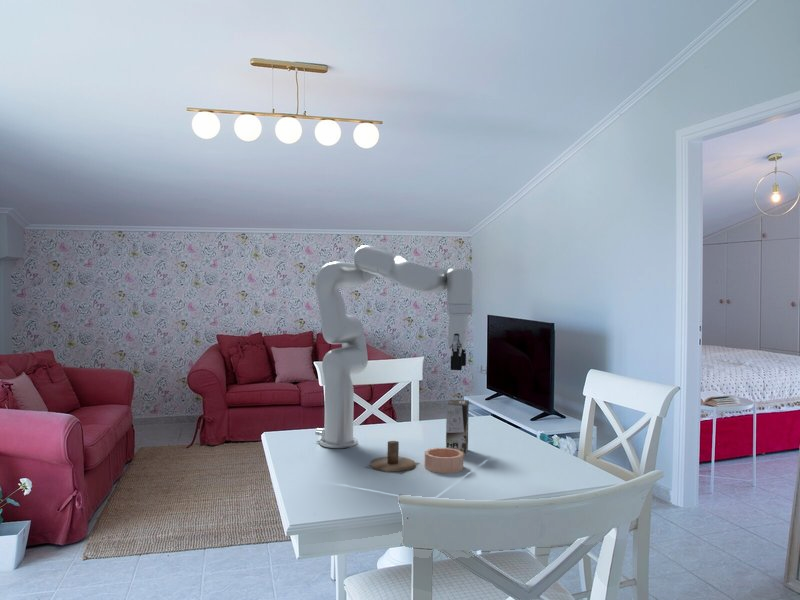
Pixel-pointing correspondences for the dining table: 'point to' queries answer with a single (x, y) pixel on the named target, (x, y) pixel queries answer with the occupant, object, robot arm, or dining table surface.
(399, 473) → the mat
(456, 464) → the bowl
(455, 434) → the coffee box
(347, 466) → the dining table surface
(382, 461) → the lid
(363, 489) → the dining table surface
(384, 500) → the dining table surface
